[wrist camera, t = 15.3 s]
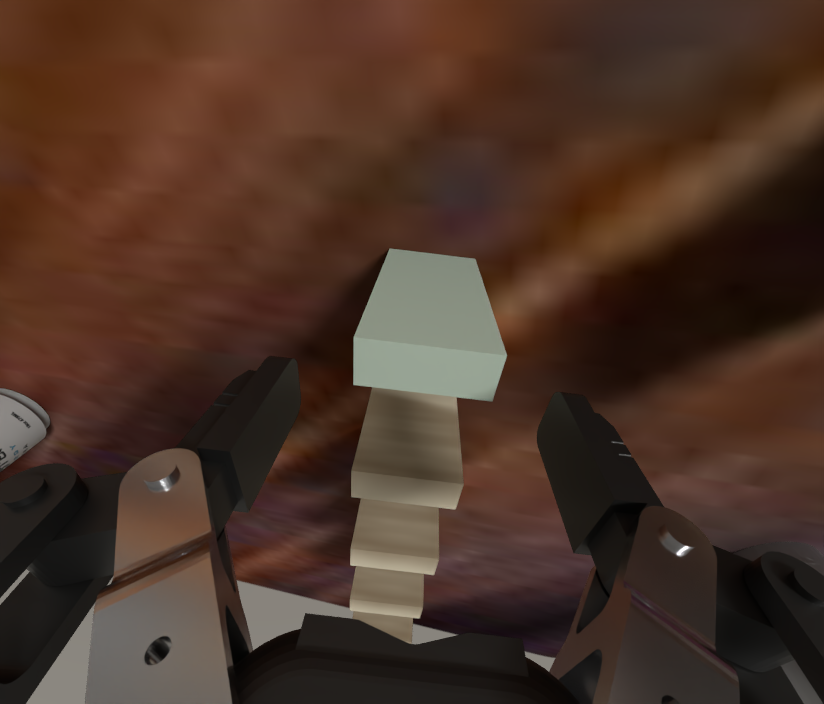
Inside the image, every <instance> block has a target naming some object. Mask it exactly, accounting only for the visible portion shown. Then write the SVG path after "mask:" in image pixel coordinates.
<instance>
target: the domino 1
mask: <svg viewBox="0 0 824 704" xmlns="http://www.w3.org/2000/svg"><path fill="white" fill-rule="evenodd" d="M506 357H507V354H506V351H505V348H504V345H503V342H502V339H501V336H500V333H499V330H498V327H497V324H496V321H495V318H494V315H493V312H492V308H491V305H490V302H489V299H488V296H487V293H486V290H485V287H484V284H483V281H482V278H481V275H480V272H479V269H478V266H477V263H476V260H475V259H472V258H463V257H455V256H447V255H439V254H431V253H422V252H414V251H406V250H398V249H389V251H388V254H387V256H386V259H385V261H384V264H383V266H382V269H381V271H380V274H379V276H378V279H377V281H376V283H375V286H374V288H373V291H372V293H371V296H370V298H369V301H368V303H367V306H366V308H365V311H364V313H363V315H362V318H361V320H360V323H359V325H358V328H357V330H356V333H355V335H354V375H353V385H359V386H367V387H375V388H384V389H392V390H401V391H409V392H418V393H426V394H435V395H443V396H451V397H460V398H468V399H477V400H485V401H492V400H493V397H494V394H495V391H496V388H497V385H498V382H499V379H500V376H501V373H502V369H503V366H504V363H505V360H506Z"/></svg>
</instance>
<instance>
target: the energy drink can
mask: <svg viewBox="0 0 824 704" xmlns="http://www.w3.org/2000/svg"><path fill="white" fill-rule="evenodd" d="M49 425H50V419H49V416H48V414H47V413H46V412H45V410H44V409H43V408H42V407H41V406H39V405H38V404H37V403H36V402H34V401H33V400H31V399H30V398H28V397H26V396H24V395H22V394H20V393H17V392H15V391H12V390H8V389H2V388H0V472H1V471H2V470H3V469H5V468H6V467H7V466H9V465H10V464H11V463H13V462H14V461H15V460H17V459H18V458H19V457H20V456H22V455H23V454H24V453H26V452H27V451H28V450H30V449H31V448H32V447H33V446H35V445H36V444H37V443H39V442H40V441H41V440H43V439H44V438H45V436H46V428H47V427H48V426H49Z"/></svg>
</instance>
